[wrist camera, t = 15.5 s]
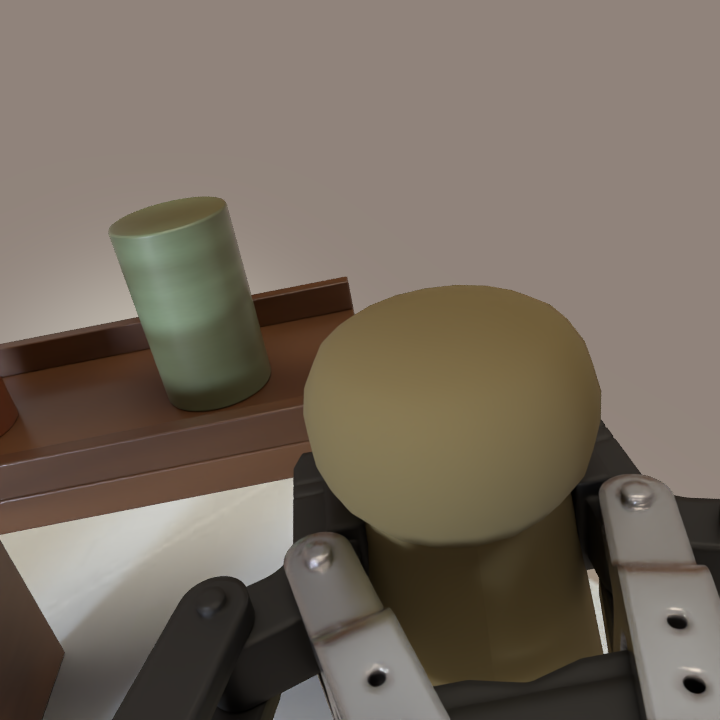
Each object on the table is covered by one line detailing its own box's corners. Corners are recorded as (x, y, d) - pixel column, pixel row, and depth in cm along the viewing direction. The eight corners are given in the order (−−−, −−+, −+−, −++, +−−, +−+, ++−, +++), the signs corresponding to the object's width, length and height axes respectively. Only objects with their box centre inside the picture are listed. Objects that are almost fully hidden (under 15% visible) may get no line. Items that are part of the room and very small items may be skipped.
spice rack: (440, 756, 27) (339, 227, 16) (-25, 847, 27) (-426, 376, 16) (406, 585, 35) (323, 153, 24) (46, 655, 35) (-194, 254, 24)
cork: (396, 608, 20) (324, 259, 15) (614, 631, 18) (620, 240, 13) (335, 827, 15) (196, 415, 10) (628, 890, 13) (646, 422, 8)
